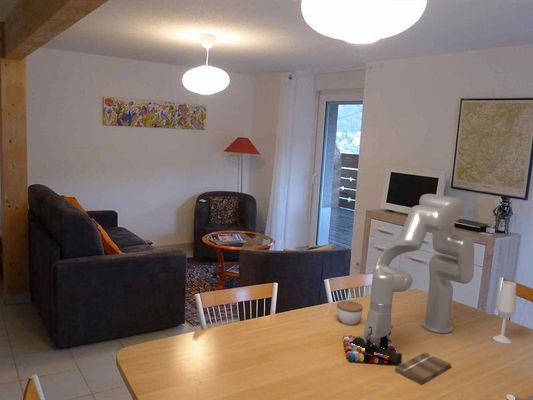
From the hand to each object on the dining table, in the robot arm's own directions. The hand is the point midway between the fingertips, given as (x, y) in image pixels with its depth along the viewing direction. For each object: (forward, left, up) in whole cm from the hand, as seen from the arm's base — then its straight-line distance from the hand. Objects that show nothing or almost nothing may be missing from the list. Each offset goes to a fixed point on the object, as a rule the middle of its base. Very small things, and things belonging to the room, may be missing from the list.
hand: (376, 351), depth 166 cm
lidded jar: (-15, -25, -2) cm, 29 cm away
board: (-5, +16, -1) cm, 17 cm away
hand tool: (+1, 0, -2) cm, 2 cm away
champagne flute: (-55, +22, -1) cm, 59 cm away
